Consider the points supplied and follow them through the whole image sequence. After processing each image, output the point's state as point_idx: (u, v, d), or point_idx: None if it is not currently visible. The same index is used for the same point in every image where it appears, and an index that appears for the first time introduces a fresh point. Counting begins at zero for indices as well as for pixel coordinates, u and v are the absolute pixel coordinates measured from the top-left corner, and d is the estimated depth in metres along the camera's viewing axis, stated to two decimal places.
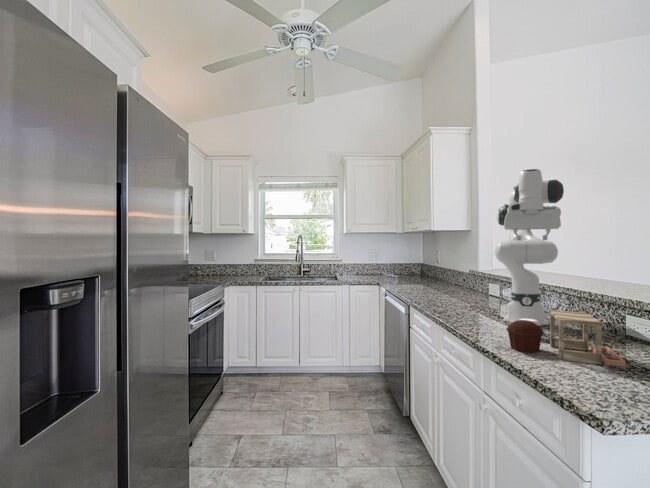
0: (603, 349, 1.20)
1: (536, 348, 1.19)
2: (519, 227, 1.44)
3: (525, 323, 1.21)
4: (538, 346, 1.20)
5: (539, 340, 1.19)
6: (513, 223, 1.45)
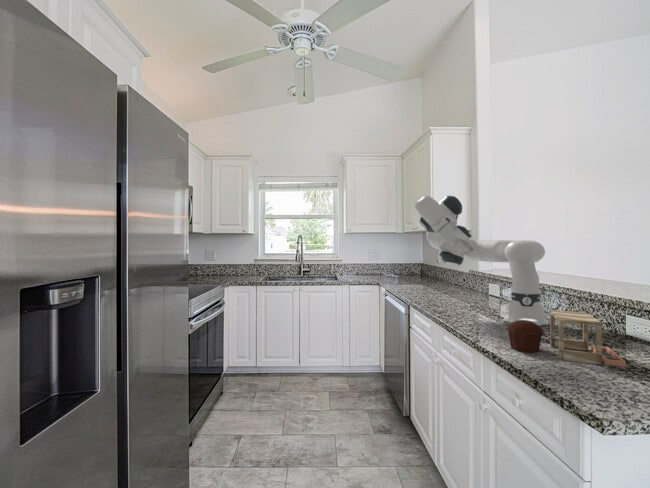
0: (603, 349, 1.20)
1: (536, 348, 1.19)
2: (460, 238, 1.34)
3: (525, 323, 1.21)
4: (538, 346, 1.20)
5: (539, 340, 1.19)
6: (456, 234, 1.32)
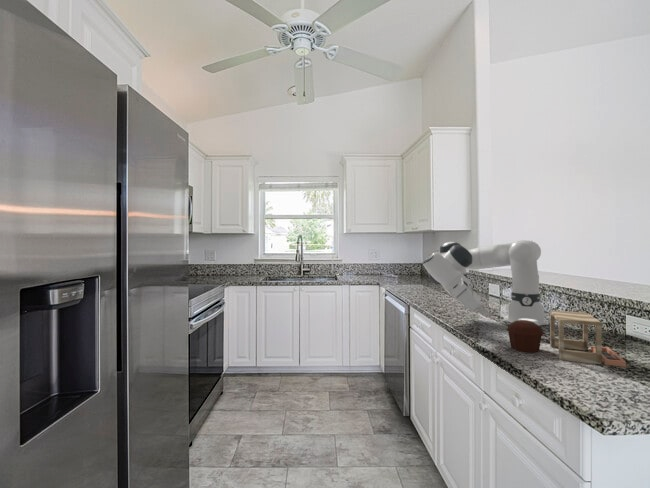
0: (603, 349, 1.20)
1: (536, 348, 1.19)
2: (479, 303, 1.25)
3: (525, 323, 1.21)
4: (538, 346, 1.20)
5: (539, 340, 1.19)
6: (476, 300, 1.24)
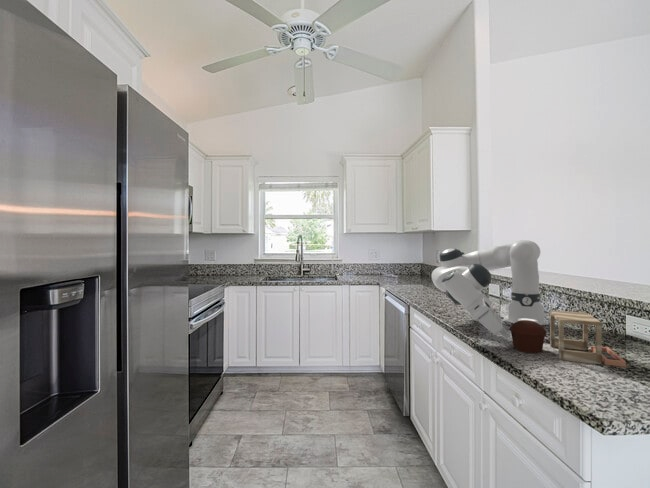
0: (603, 349, 1.20)
1: (539, 348, 1.19)
2: (501, 325, 1.22)
3: (528, 323, 1.21)
4: (541, 346, 1.19)
5: (542, 340, 1.19)
6: (498, 322, 1.20)
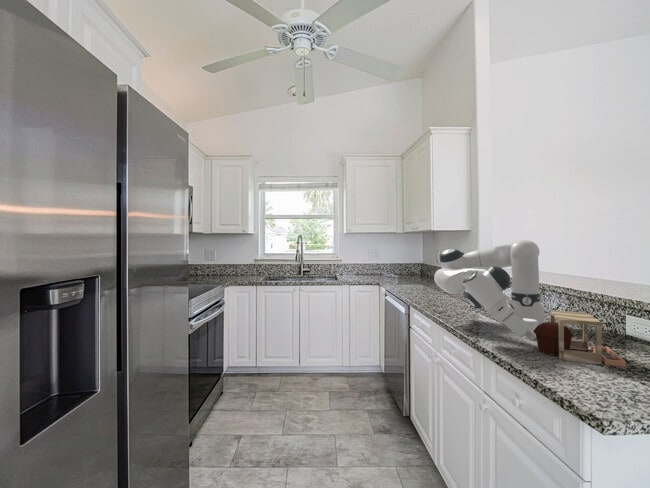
0: (603, 349, 1.20)
1: None
2: (526, 327, 1.19)
3: (554, 325, 1.18)
4: (568, 349, 1.16)
5: (569, 343, 1.16)
6: None
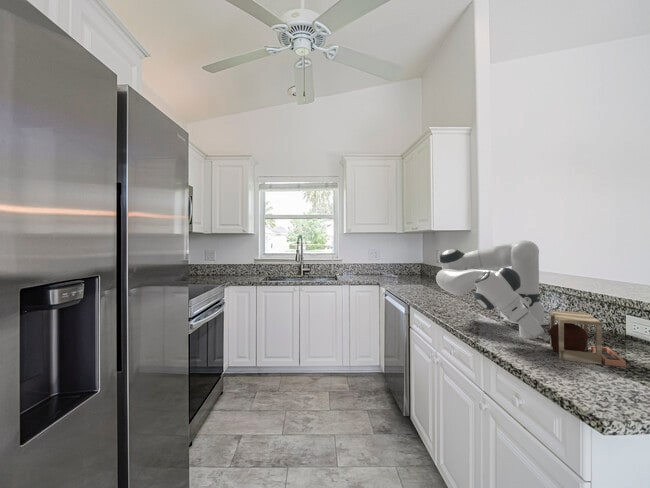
0: (603, 349, 1.20)
1: None
2: None
3: (569, 326, 1.16)
4: (583, 350, 1.15)
5: (584, 344, 1.14)
6: None
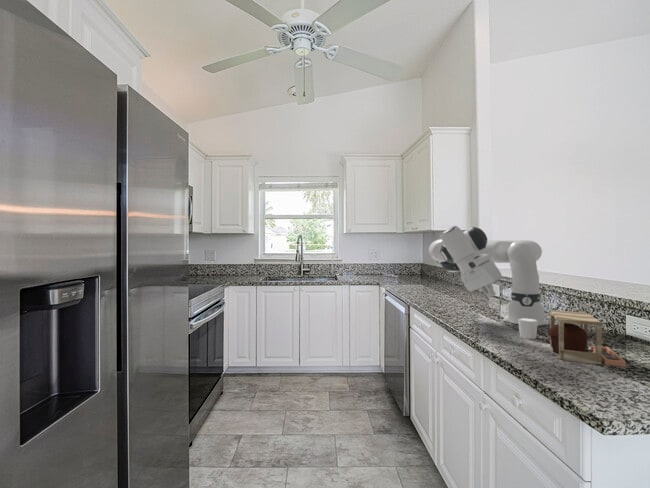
0: (603, 349, 1.20)
1: None
2: None
3: (569, 326, 1.16)
4: (583, 350, 1.15)
5: (584, 344, 1.14)
6: None
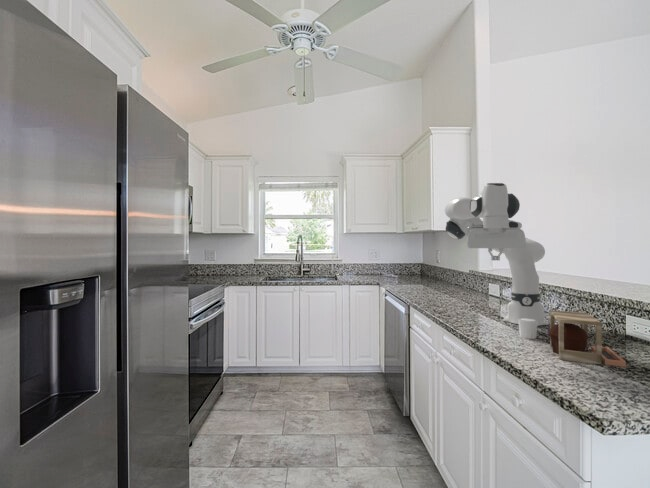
0: (603, 349, 1.20)
1: None
2: None
3: (569, 326, 1.16)
4: (583, 350, 1.15)
5: (584, 344, 1.14)
6: None
